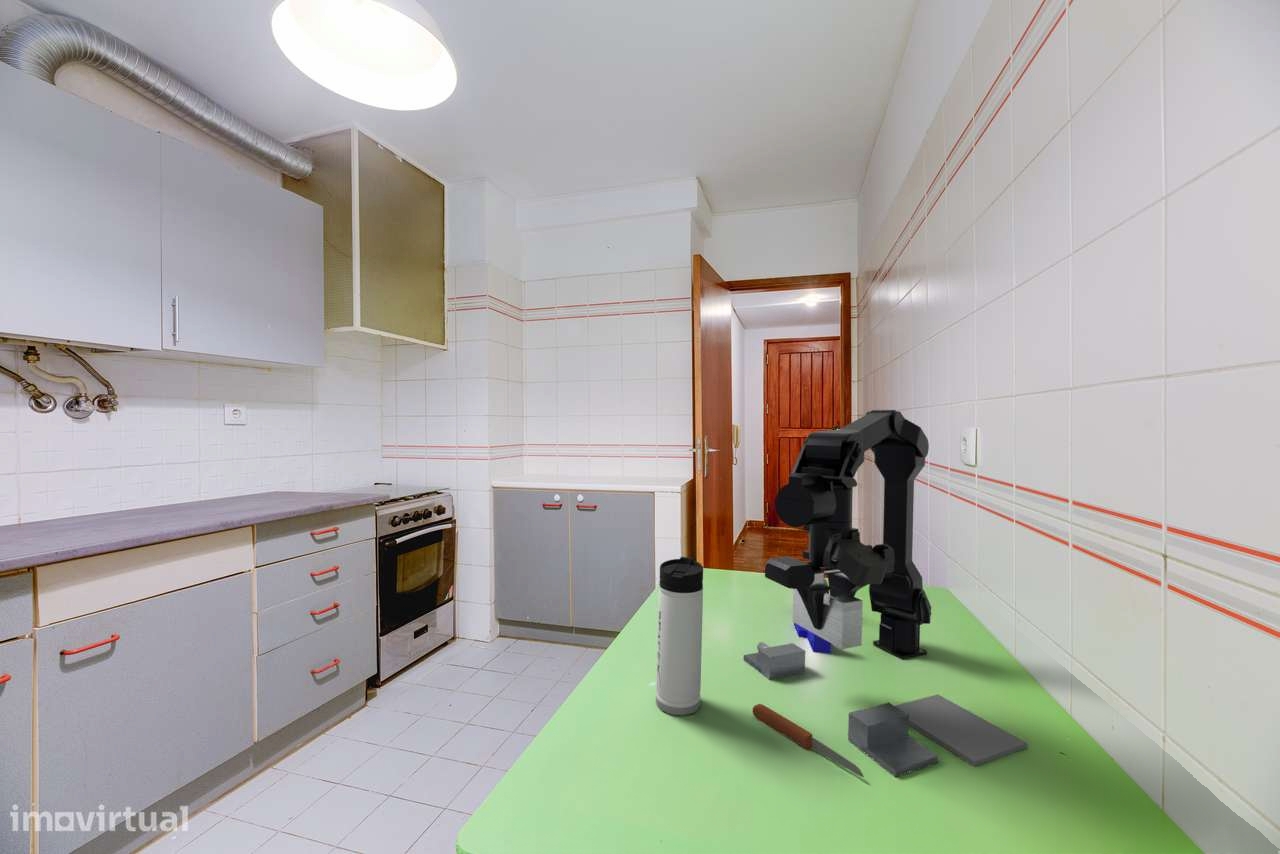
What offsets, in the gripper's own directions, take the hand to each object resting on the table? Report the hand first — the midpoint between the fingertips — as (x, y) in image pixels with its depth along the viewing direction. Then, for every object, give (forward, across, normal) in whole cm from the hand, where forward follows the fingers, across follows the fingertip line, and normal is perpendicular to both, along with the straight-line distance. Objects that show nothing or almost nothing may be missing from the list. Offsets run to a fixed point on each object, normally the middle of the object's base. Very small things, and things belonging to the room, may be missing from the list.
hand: (827, 627), depth 71 cm
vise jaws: (+11, 0, 0) cm, 11 cm away
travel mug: (+11, -20, +7) cm, 24 cm away
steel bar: (+1, 0, 0) cm, 1 cm away
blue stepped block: (+11, +14, +18) cm, 26 cm away
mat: (+11, +12, -11) cm, 19 cm away
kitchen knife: (+11, -10, -7) cm, 16 cm away
